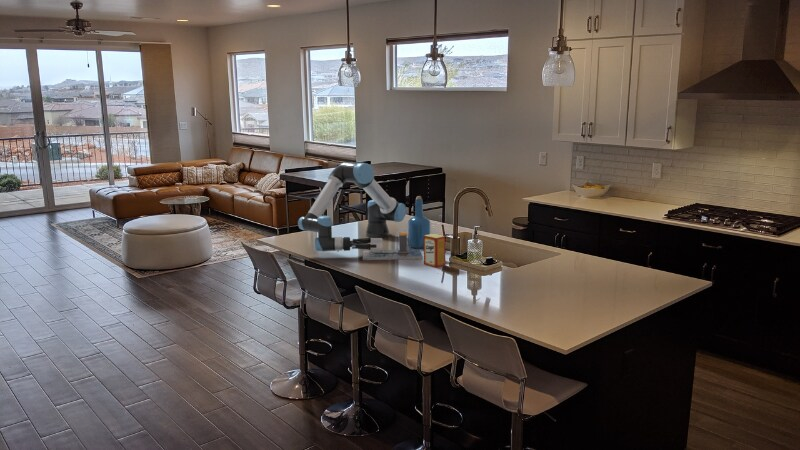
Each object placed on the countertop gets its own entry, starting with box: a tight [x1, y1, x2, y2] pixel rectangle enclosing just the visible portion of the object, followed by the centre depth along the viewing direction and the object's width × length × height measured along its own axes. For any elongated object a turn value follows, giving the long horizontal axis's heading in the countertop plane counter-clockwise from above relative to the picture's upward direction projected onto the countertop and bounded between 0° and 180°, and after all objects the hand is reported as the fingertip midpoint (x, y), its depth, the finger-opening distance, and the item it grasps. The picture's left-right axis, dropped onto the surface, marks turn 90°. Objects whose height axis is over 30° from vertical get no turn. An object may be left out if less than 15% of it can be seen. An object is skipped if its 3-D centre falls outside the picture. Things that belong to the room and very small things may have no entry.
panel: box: [362, 248, 422, 261], centre depth 355 cm, size 16×32×2 cm, turn 92°
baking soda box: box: [423, 233, 446, 268], centre depth 334 cm, size 10×6×16 cm
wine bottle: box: [407, 195, 432, 250], centre depth 374 cm, size 14×13×30 cm
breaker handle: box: [397, 231, 409, 253], centre depth 354 cm, size 4×6×11 cm
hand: (382, 243), depth 354 cm, fingers open, 11 cm apart
